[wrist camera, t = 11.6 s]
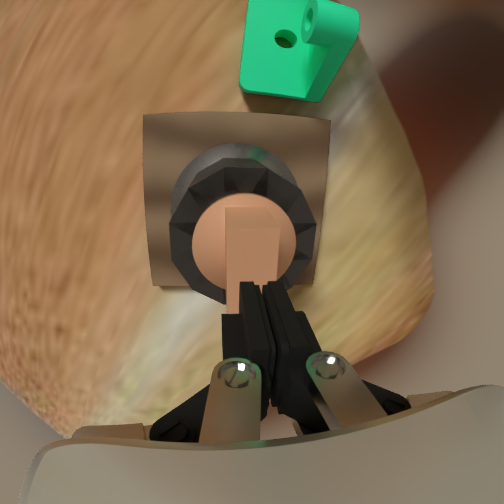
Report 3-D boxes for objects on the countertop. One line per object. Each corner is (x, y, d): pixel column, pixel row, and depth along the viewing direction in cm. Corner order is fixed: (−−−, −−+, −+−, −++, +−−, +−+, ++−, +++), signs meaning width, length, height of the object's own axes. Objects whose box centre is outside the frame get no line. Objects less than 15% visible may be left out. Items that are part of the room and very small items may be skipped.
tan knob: (196, 182, 20) (180, 214, 12) (282, 182, 21) (323, 214, 13) (199, 261, 22) (190, 331, 14) (277, 260, 23) (307, 326, 15)
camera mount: (248, -3, 20) (262, -54, 10) (318, 10, 21) (357, -31, 11) (237, 94, 24) (246, 70, 15) (311, 103, 25) (357, 90, 16)
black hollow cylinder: (173, 143, 24) (146, 147, 15) (300, 146, 25) (342, 153, 16) (176, 261, 29) (160, 318, 19) (290, 260, 30) (319, 314, 21)
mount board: (147, 115, 24) (143, 114, 22) (325, 120, 26) (330, 120, 24) (155, 279, 31) (152, 285, 29) (309, 277, 33) (312, 284, 32)
